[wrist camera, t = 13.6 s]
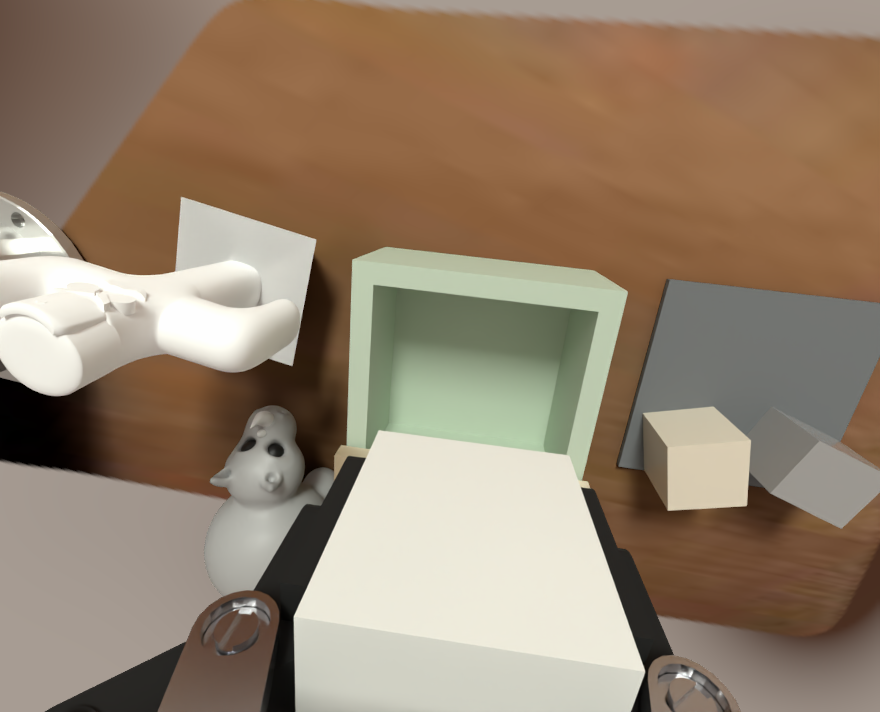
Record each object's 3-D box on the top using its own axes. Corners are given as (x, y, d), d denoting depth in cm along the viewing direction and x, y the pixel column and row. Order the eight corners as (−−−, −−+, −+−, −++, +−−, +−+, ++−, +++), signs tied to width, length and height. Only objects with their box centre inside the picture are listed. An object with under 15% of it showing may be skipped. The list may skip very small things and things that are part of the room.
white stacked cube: (370, 575, 12) (297, 818, 7) (378, 430, 10) (293, 616, 6) (536, 601, 12) (573, 869, 7) (569, 455, 10) (645, 670, 5)
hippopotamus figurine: (356, 385, 29) (300, 459, 20) (355, 538, 33) (309, 651, 24) (247, 374, 29) (150, 440, 21) (260, 525, 33) (183, 631, 25)
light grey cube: (731, 453, 27) (770, 493, 23) (771, 406, 26) (819, 440, 22) (792, 483, 27) (841, 528, 23) (835, 438, 26) (894, 478, 22)
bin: (370, 518, 32) (342, 592, 26) (385, 246, 26) (352, 259, 19) (535, 544, 31) (545, 627, 25) (594, 270, 25) (627, 291, 19)
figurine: (333, 351, 28) (172, 499, 14) (194, 307, 28) (-105, 408, 14) (357, 240, 26) (192, 283, 11) (205, 192, 26) (-145, 175, 12)
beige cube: (644, 469, 28) (667, 510, 24) (642, 413, 27) (667, 447, 23) (711, 464, 27) (747, 506, 23) (713, 406, 26) (751, 440, 22)
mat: (616, 463, 28) (618, 466, 28) (667, 278, 24) (669, 279, 24) (811, 491, 27) (815, 495, 27) (896, 304, 23) (902, 306, 23)
